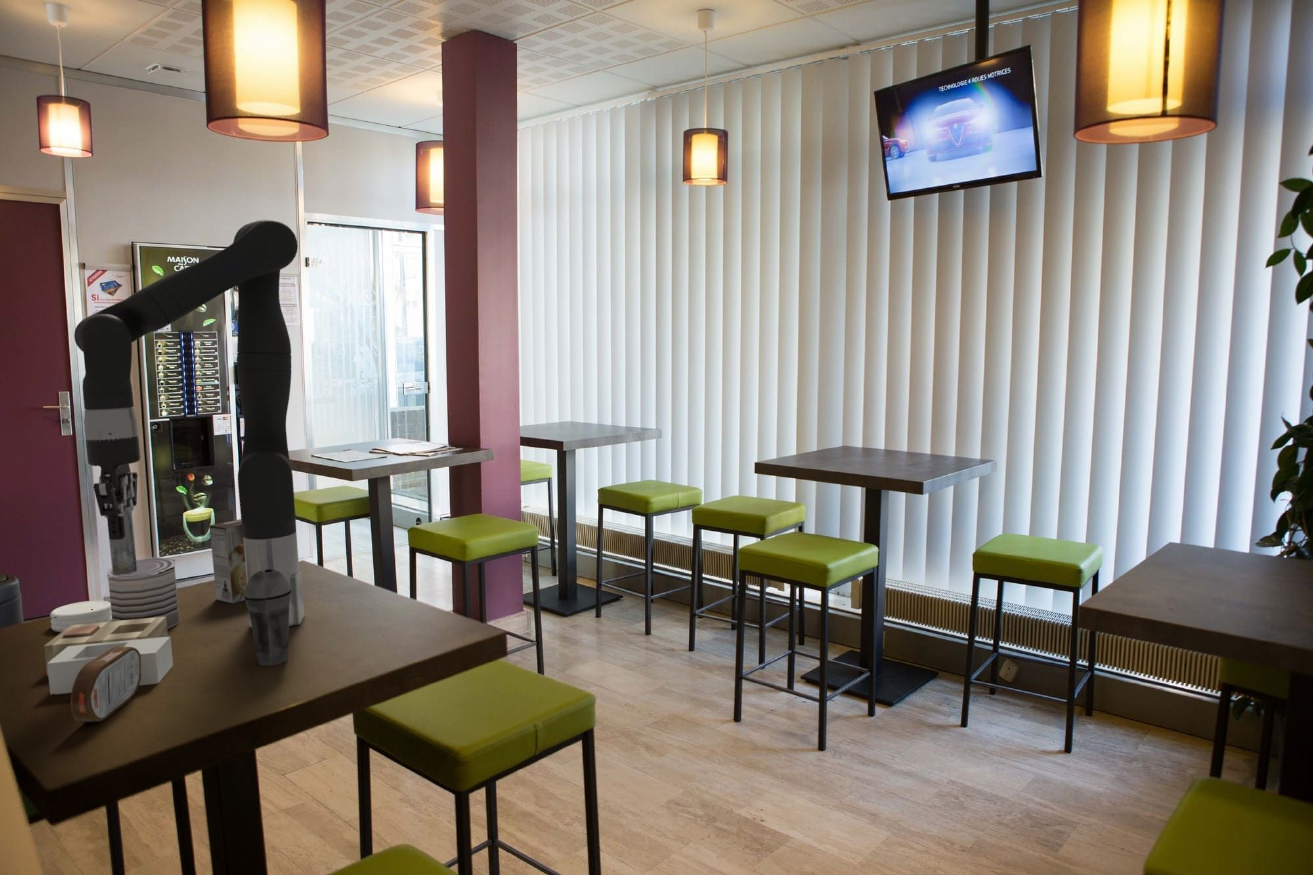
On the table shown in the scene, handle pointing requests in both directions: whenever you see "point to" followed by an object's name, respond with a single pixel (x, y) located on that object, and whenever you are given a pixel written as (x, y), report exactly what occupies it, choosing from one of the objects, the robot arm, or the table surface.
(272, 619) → the beverage cup
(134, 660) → the tin
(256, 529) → the robot arm
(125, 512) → the stepped metal cylinder
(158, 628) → the socket block
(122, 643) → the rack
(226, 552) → the coffee box
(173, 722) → the table surface
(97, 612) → the white round container
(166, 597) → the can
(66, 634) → the key
